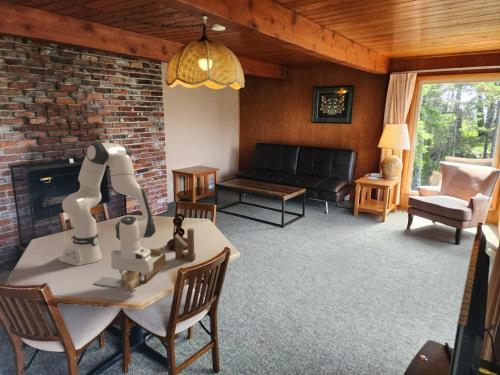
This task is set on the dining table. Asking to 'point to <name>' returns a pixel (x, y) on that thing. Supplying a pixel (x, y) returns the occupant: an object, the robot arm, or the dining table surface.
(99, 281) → the felt mat
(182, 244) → the wooden stand
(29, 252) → the dining table surface
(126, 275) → the light wood block
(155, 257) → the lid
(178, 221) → the dark brown ringed stand
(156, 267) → the wooden box
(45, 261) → the dining table surface
